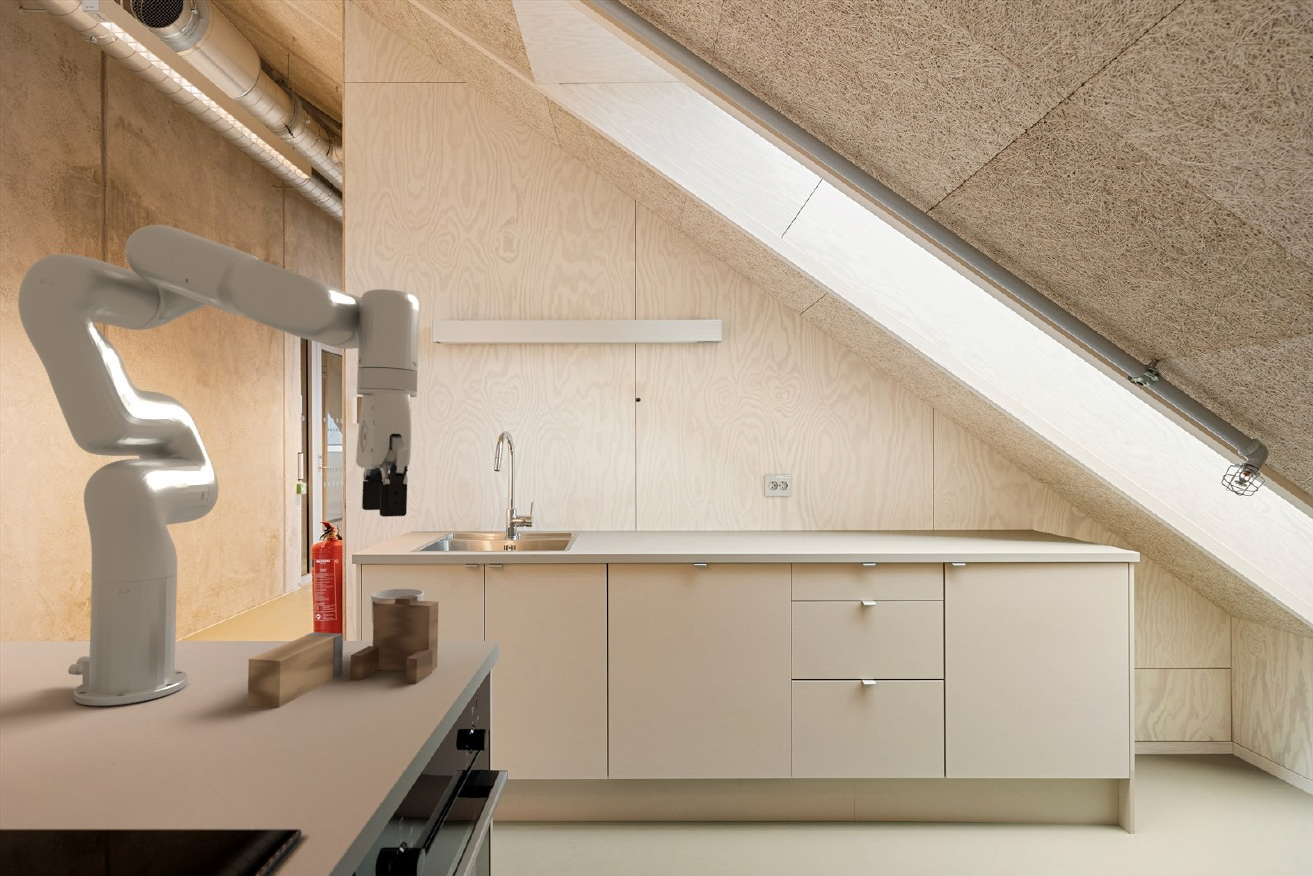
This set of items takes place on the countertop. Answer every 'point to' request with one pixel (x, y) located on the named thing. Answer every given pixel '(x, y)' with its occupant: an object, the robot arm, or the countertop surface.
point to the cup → (395, 595)
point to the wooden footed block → (400, 639)
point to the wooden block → (294, 669)
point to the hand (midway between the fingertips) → (383, 512)
